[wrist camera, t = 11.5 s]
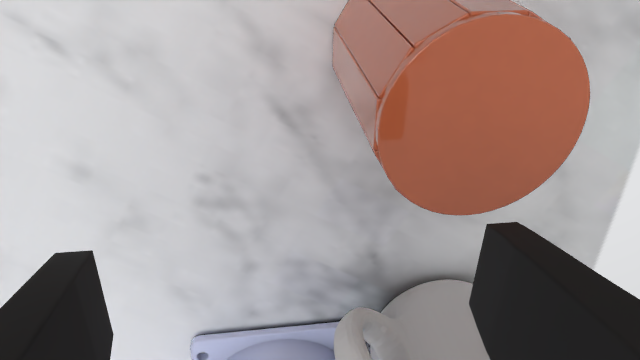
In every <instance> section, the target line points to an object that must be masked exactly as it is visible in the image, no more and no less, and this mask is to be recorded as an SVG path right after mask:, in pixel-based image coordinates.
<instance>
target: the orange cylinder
mask: <svg viewBox="0 0 640 360" xmlns="http://www.w3.org/2000/svg"><path fill="white" fill-rule="evenodd" d="M332 66H333V69H334V71H335V73H336V76H337V78H338V80H339V82H340V84H341V86H342V88H343V90H344V92H345V94H346V96H347V98H348V100H349V102H350V104H351V107H352V109H353V111H354V113H355V115H356V117H357V119H358V121H359V123H360V125H361V127H362V129H363V131H364V133H365V135H366V137H367V140H368V142H369V144H370V146H371V148H372V150H373V152H374V154H375V156H376V157H377V159H378V161H379V162H380V164H381V166H382V168H383V169H384V171H385V173H386V175H387V177H388V179H389V180H390V181H391V183H392V185H393V186H394V188H395V189H396V190H397V191H398V192H399V193H401V194H402V195H403V196H404V197H405V198H407V199H408V200H409V201H411V202H412V203H414V204H416V205H418V206H420V207H422V208H424V209H427V210H430V211H432V212H437V213H441V214H448V215H472V214H480V213H484V212H488V211H492V210H495V209H498V208H501V207H504V206H506V205H509V204H511V203H513V202H515V201H517V200H519V199H521V198H522V197H524V196H526V195H528V194H529V193H530V192H532V191H533V190H535V189H536V188H538V187H539V186H540V185H541V184H542V183H544V182H545V181H546V180H547V179H548V178H549V177H550V176H551V175H552V174H553V173H554V172H555V171H556V170H557V169H558V168H559V167H560V166H561V164H562V163H563V162H564V161H565V159H566V158H567V157H568V155H569V154H570V152H571V151H572V149H573V148H574V146H575V144H576V142H577V140H578V138H579V136H580V134H581V132H582V129H583V126H584V124H585V121H586V117H587V112H588V108H589V99H590V84H589V77H588V72H587V68H586V65H585V63H584V60H583V57H582V56H581V54H580V52H579V50H578V49H577V47H576V46H575V44H574V43H573V42H572V41H571V38H569V37H568V36H566V35H565V34H564V33H563V32H562V31H561V30H559V29H558V28H556V27H554V26H553V25H551V24H549V23H548V22H546V21H545V20H543V19H542V18H541V17H539V16H538V15H536V14H535V13H533V12H532V11H530V10H528V9H526V8H524V7H522V6H520V5H518V4H516V3H515V2H513V1H511V0H349V1H348V2H347V4H346V6H345V7H344V9H343V11H342V12H341V14H340V16H339V18H338V19H337V21H336V23H335V27H334V28H333V64H332Z"/></svg>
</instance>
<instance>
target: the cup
mask: <svg viewBox="0 0 640 360" xmlns="http://www.w3.org/2000/svg"><path fill="white" fill-rule="evenodd" d="M472 287H473V284H471V283H469V282H465V281H460V280H437V281H430V282H427V283H423V284H420V285H417V286H415V287H413V288H410V289H409V290H407V291H405V292H403V293H401V294H400V295H399V296H397V297H396V298H395V299H393V300H392V301H391V302H390V303H389V304H388V305H387V306H386V307H385V308H384V309H383V311H382V312H381V313H379V312H377V311H375V310H372V309H369V308H364V307H359V308H355V309H353V310H351V311H349V312H348V313H347V314H346V315H345V316H344V317H343V318H342V319H341V321H340V322H339V323H338V325H337V327H336V330H335V335H334V354H335V360H490V358H489V356H488V354H487V352H486V349H485V347H484V344H483V342H482V339H481V337H480V334H479V331H478V329H477V326H476V323H475V320H474V317H473V314H472V312H471V309H470V306H469V300H470V295H471V291H472ZM365 341H366V342H367V343H368V344H369V345H370V354H369V351H368V349H367V346H366V343H365Z"/></svg>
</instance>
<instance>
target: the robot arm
mask: <svg viewBox="0 0 640 360" xmlns="http://www.w3.org/2000/svg"><path fill="white" fill-rule="evenodd" d="M469 306H470V309H471V312H472V314H473V317H474V320H475V323H476V326H477V329H478V331H479V334H480V337H481V339H482V342H483V344H484V347H485V349H486V352H487V354H488V356H489V358H490V360H640V299H638V298H636V297H635V296H633V295H631V294H630V293H628V292H627V291H625V290H623V289H622V288H620V287H619V286H617V285H615V284H614V283H612V282H611V281H609V280H608V279H606V278H604V277H603V276H601V275H600V274H598V273H596V272H595V271H594V270H592V269H590V268H589V267H587V266H586V265H584V264H583V263H581V262H580V261H578V260H577V259H575V258H574V257H572V256H571V255H569V254H568V253H566V252H564V251H563V250H561V249H560V248H558V247H557V246H555V245H554V244H552V243H551V242H549V241H547V240H546V239H544V238H543V237H541V236H540V235H538V234H536V233H535V232H533V231H532V230H530V229H528V228H527V227H525V226H523V225H521V224H519V223H518V222H511V223H496V224H487V226H486V230H485V234H484V239H483V243H482V247H481V252H480V256H479V261H478V265H477V269H476V274H475V278H474V282H473V287H472V291H471V295H470V300H469ZM338 323H339V322H331V323H321V324H311V325H301V326H290V327H280V328H270V329H260V330H249V331H239V332H229V333H219V334H209V335H200V336H196V337H195V338H193V339H192V341H191V347H190V350H191V357H192V360H335V354H334V335H335V330H336V327H337V325H338ZM112 341H113V331H112V327H111V323H110V319H109V315H108V311H107V307H106V303H105V299H104V295H103V291H102V287H101V283H100V279H99V275H98V271H97V267H96V263H95V259H94V255H93V251H79V252H64V253H55V254H54V255H53V256H52V257H51V258H50V259H49V260H48V261H47V262H46V263H45V264H44V265H43V266H42V267H41V268H40V269H39V270H38V271H37V272H36V273H35V274H34V275H33V276H32V277H31V278H30V279H29V280H28V281H27V282H26V283H25V284H24V285H23V286H22V287H21V288H20V289H19V290H18V291H17V292H16V293H15V294H14V295H13V296H12V297H11V298H10V299H9V300H8V301H7V302H6V303H5V304H4V305H3V306H2V307H1V308H0V360H110V356H111V348H112ZM201 352H204V354H203V353H201Z"/></svg>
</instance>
